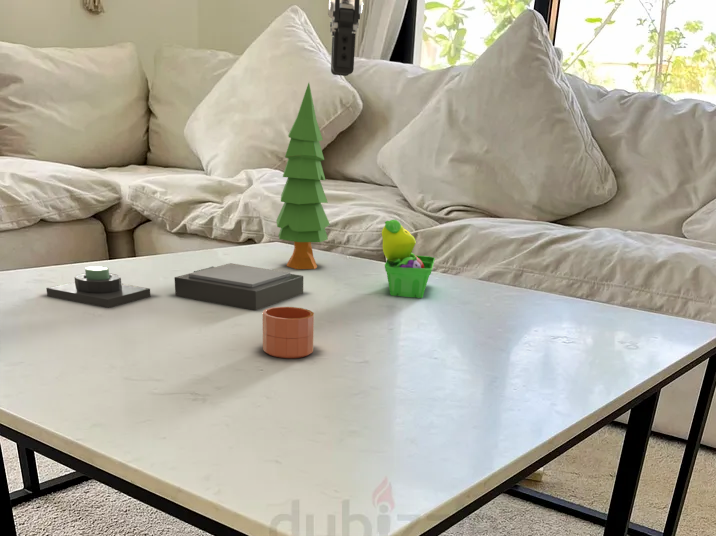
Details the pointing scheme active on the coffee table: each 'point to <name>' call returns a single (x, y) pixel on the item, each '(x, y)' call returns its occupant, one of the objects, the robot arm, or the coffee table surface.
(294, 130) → the decorative tree
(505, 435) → the coffee table surface
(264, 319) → the terracotta cup
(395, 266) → the fruit basket
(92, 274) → the button
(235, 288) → the scale
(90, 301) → the dark grey button base
